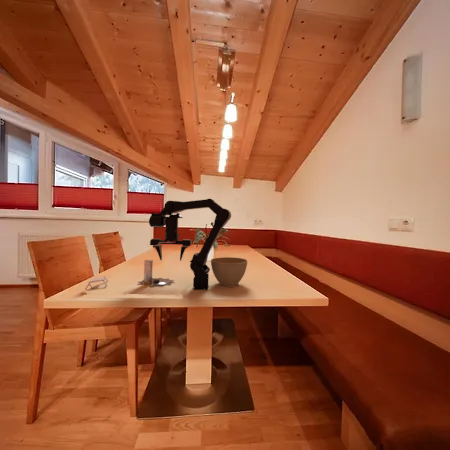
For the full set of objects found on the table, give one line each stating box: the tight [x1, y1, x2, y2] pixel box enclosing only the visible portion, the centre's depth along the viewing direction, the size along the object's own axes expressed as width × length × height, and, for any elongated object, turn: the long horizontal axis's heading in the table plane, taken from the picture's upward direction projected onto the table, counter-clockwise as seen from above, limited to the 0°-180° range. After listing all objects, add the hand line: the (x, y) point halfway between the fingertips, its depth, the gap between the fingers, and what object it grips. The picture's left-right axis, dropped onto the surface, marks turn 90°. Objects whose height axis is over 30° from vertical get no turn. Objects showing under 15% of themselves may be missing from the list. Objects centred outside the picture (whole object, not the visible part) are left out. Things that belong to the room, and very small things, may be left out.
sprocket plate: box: [137, 277, 176, 289], centre depth 114 cm, size 17×17×3 cm
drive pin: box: [143, 259, 154, 287], centre depth 109 cm, size 4×4×11 cm
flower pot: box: [210, 256, 248, 287], centre depth 119 cm, size 18×18×12 cm
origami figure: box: [84, 275, 109, 291], centre depth 105 cm, size 12×8×5 cm
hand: (170, 260), depth 114 cm, fingers open, 9 cm apart
